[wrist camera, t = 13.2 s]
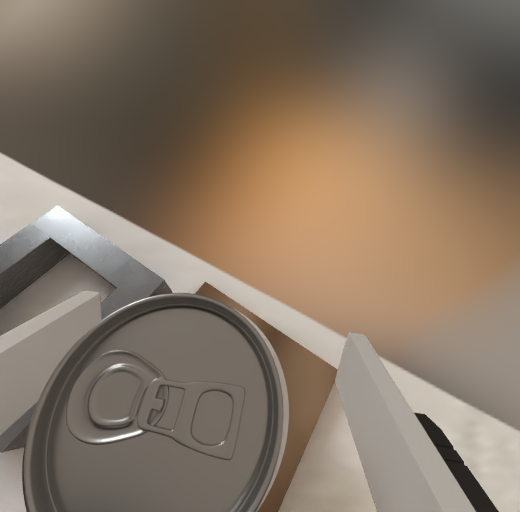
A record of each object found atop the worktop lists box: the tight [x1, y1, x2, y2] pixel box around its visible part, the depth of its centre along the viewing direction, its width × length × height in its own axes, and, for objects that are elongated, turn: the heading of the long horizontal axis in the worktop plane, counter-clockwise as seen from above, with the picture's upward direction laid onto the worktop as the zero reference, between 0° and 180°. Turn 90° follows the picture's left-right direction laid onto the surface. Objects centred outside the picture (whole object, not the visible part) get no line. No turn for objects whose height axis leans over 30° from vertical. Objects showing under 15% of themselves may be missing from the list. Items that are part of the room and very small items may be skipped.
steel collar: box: [0, 206, 172, 453], centre depth 18 cm, size 12×12×2 cm
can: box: [22, 293, 289, 512], centre depth 11 cm, size 6×6×12 cm
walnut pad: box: [195, 282, 338, 512], centre depth 17 cm, size 12×12×1 cm
